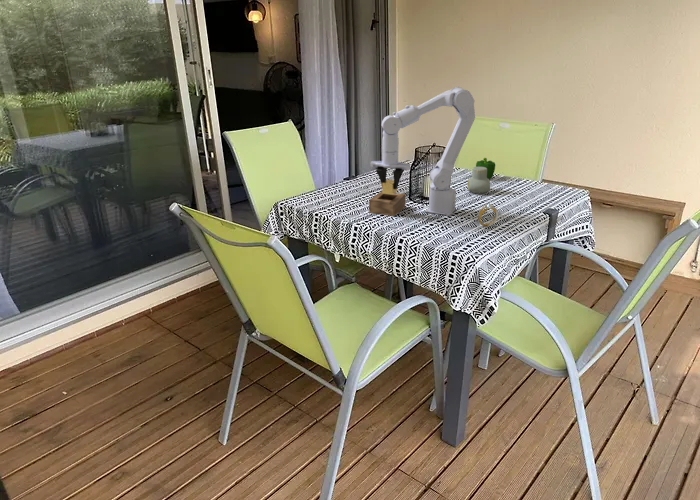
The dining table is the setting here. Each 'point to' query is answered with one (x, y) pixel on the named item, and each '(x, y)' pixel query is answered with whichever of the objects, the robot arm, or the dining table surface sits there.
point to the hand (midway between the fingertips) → (389, 187)
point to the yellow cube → (388, 187)
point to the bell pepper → (488, 165)
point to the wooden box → (387, 203)
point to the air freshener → (479, 181)
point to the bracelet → (485, 211)
